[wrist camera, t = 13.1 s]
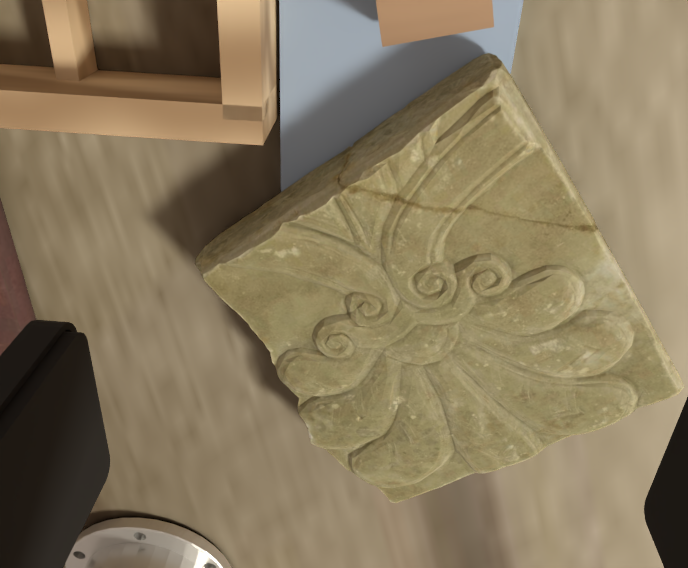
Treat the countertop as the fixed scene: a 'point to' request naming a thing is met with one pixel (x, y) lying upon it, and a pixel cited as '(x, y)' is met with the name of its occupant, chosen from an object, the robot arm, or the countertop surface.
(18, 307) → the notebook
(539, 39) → the countertop surface
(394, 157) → the decorative tile
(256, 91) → the oak rack
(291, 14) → the slate-blue mat
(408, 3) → the brown wooden block
